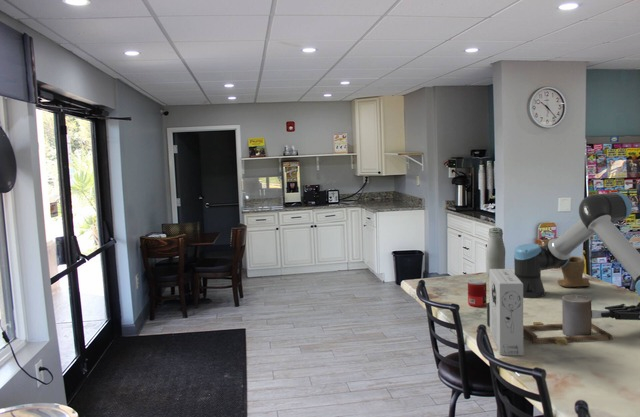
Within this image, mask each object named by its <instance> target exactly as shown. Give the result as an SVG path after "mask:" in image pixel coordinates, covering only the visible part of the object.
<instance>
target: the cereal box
mask: <svg viewBox="0 0 640 417" xmlns="http://www.w3.org/2000/svg"><path fill="white" fill-rule="evenodd" d="M488 279H489V280H488V281H489V284H488V285H489V287H488V288H489V296H490V301H489V302H490V327H489V334H490V336H491V338H492V341H493V343H494V345H495V346H496V350H497V351H498V353H499V355H500V356H520V357H523V356H524V336H523V325H524V297H523V283H522V282H521V281H520V280H519V279H518V277H517V276H516V275H515V272H514V271H513V270H512V269H510V268H505V269H490V270H489V277H488Z"/></svg>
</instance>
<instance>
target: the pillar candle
mask: <svg viewBox="0 0 640 417" xmlns="http://www.w3.org/2000/svg"><path fill="white" fill-rule="evenodd" d="M561 298H562V301H561V302H562V303H561V304H562V305H561V306H562V308H561V309H562V313H561V315H562V322H561V323H562V324H563V329H562V334H563V335H565V336H581V335H592V330H593V329H592V324H593V323H592V320H593V319H592V317H591V316H592V313H591V310H592V298H591V297H589V296H586V295H581V294H566V295H563V296H561Z"/></svg>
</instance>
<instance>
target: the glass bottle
mask: <svg viewBox="0 0 640 417" xmlns="http://www.w3.org/2000/svg"><path fill="white" fill-rule="evenodd" d="M503 235H504V231H503V229H502V228H501V227H491V228H489V229H488V241H487V244H486V248H485V273H486V276H487V277H488V278H489V270H490V269H506V247H505V243H504V238H503Z"/></svg>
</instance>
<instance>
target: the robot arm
mask: <svg viewBox="0 0 640 417" xmlns="http://www.w3.org/2000/svg"><path fill="white" fill-rule="evenodd" d="M632 207H633V206H632V202H631V200H630V198H629V197H628V196H627V195H626V194H624V193H622V192H615V191H614V192H609V193H597V194H596V193H593V194H590V195H588V196H586V197H584V198H583V199H582V200H581V202H580V203H579V206H578V215H579V219H578V220H577V221H576V222H575V223H573V224H572V225H571V226H570V227H568V228H567V230H565V231H564V232H563V233H562V234H561V235H559V236H558V237H557V238H551V239H549V241H547V242H546V243H545V244H543V245H540V244H537V243H523V244H518V246H515V248H514V255H513V257H514V258H513V259H514V261H513V262H514V263H513V264H514V265H513V266H514V274H515V275H516V276H517V277H518V279H519V280H520V281H521V282H522V283H523V298H528V299H529V298H532V299H534V298H535V299H536V298H540V297H541V298H542V297H544V296H545V294H546V293H545V292H546V290H545V287H544V285H543V281H542V276H541V275H542V274H541V272H542V271H546V270H552V269H561V267H563V266H565V265H566V264H567V263H568V262H569V258H570V257H571V256H572V255H571V254H572V252H573V251H575V250H576V249H577V248H579V247H580V246H581V245H582V244H583V243H584V242H586V241H587V240H588V239H590V238H591V237H592V236H593V235H595V236H597V238H598V239H599V240H600V241H601V242H602V244H603V246H605V247H606V248H607V250H608V251H609V252H610V253H611V254H612V255H613V257H614V258H615V259H616V261H617V262H618V263H619V264H620V265H621V267H622V268H623V269H624V270H625V271H626V273H628V275H629V276H630V277H631V278H632V279H633V281H634V282H635V287H634V288H635V291H636V294H637V295H638V296H639V297H640V252H639V251H638V250H637V249H636V247H634V245H633V244H632V243H631V242H630V240H628V238H627V237H626V236H625V235H624V234H623V233H622V232H621V231H620V229H619V228H618V227H617V226H616V225H615V223H616V222H617V221H624V220H626V219H628V218H629V217H630V216H631V214H632V211H633V210H632ZM591 313H592V316H591V317H592V320H593V319H609V318H610V319H615V320H619V321H620V320H621V321H624V320H625V321H640V301H639V302H638V303H637V305H634V304H633V305H628V306H626V304H625V303H620V304H617V305H611V306H610V305H609V306H605V307H604V309H591Z"/></svg>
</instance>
